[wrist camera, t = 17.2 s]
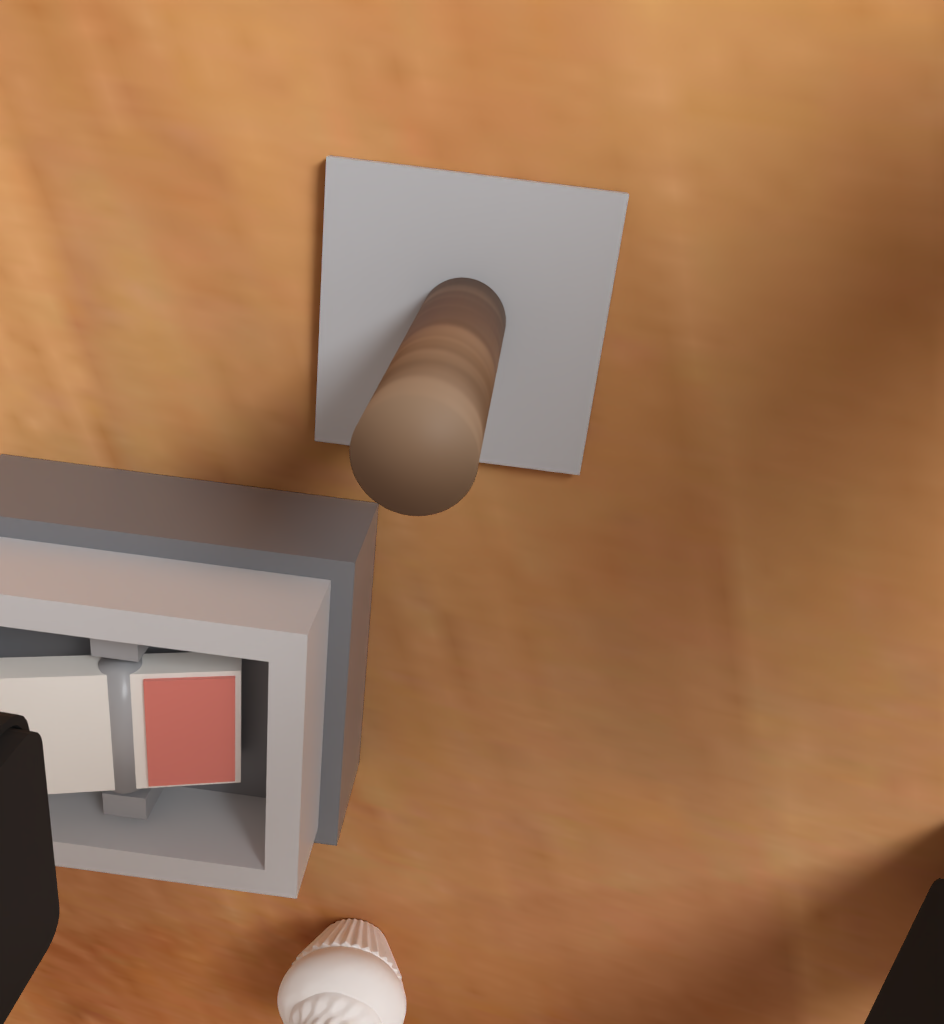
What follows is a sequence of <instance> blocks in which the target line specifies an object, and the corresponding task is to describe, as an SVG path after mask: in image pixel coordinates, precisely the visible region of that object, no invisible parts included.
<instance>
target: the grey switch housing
mask: <svg viewBox="0 0 944 1024" xmlns="http://www.w3.org/2000/svg"><path fill="white" fill-rule="evenodd" d="M378 506H379V504H378V503H373V502H365V501H358V500H350V499H342V498H335V497H327V496H319V495H311V494H304V493H296V492H288V491H281V490H273V489H265V488H258V487H250V486H242V485H235V484H227V483H219V482H212V481H204V480H196V479H189V478H181V477H173V476H166V475H158V474H150V473H143V472H135V471H127V470H120V469H112V468H104V467H97V466H89V465H81V464H74V463H66V462H58V461H51V460H43V459H35V458H28V457H20V456H12V455H5V454H2V455H0V658H7V657H43V656H79V655H91V656H97V657H105V658H112V659H120V660H127V661H135V662H139V660H140V659H141V657H142V656H143V655H144V654H151V653H187V652H198V653H206V654H213V655H221V656H228V657H236V658H242V668H241V782H239V783H222V784H206V785H190V786H174V787H157V788H141V789H139V790H137V791H135V792H132V793H126V794H121V793H116V792H113V791H112V790H109V791H93V792H76V793H60V794H48V801H49V811H50V821H51V831H52V841H53V850H54V860H55V866H60V867H67V868H75V869H82V870H90V871H97V872H104V873H112V874H119V875H126V876H134V877H141V878H148V879H156V880H163V881H170V882H178V883H185V884H192V885H200V886H207V887H214V888H222V889H229V890H236V891H244V892H251V893H258V894H266V895H273V896H280V897H288V898H295V899H297V896H298V893H299V890H300V886H301V883H302V880H303V876H304V873H305V870H306V866H307V863H308V860H309V856H310V853H311V850H312V846H313V843H321V844H328V845H336V846H337V843H338V840H339V836H340V832H341V828H342V825H343V821H344V817H345V813H346V810H347V806H348V802H349V799H350V795H351V791H352V787H353V784H354V780H355V776H356V772H357V769H358V765H359V758H360V745H361V731H362V718H363V705H364V692H365V678H366V665H367V652H368V638H369V625H370V612H371V599H372V585H373V572H374V559H375V546H376V532H377V519H378Z"/></svg>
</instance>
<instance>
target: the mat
mask: <svg viewBox="0 0 944 1024" xmlns="http://www.w3.org/2000/svg"><path fill="white" fill-rule="evenodd" d="M628 198H629V194H628V193H626V192H618V191H610V190H602V189H594V188H586V187H578V186H570V185H562V184H554V183H546V182H538V181H530V180H522V179H514V178H506V177H498V176H490V175H482V174H474V173H466V172H458V171H450V170H442V169H435V168H427V167H419V166H411V165H403V164H395V163H387V162H379V161H371V160H363V159H355V158H347V157H339V156H331V155H330V156H326V175H325V199H324V224H323V248H322V273H321V297H320V321H319V346H318V370H317V395H316V419H315V441H319V442H327V443H335V444H342V445H350V442H351V438H352V434H353V432H354V430H355V427H356V425H357V424H358V422H359V420H360V418H361V416H362V414H363V413H364V411H365V409H366V407H367V405H368V403H369V402H370V400H371V398H372V396H373V394H374V392H375V391H376V389H377V387H378V385H379V383H380V381H381V380H382V378H383V376H384V374H385V372H386V370H387V369H388V367H389V365H390V363H391V361H392V359H393V358H394V356H395V354H396V352H397V350H398V348H399V347H400V345H401V343H402V341H403V339H404V337H405V336H406V334H407V332H408V330H409V328H410V326H411V325H412V323H413V321H414V319H415V317H416V315H417V314H418V312H419V310H420V308H421V306H422V304H423V303H424V301H425V299H426V297H427V296H428V294H429V293H430V292H431V291H432V290H433V289H434V288H435V287H436V286H437V285H439V284H440V283H442V282H444V281H446V280H449V279H453V278H460V277H463V278H471V279H475V280H478V281H480V282H482V283H484V284H486V285H487V286H489V287H490V288H491V289H492V290H493V291H494V292H495V293H496V294H497V296H498V297H499V298H500V300H501V302H502V304H503V307H504V310H505V315H506V327H505V333H504V338H503V343H502V348H501V353H500V358H499V363H498V368H497V373H496V378H495V383H494V388H493V393H492V398H491V403H490V408H489V414H488V419H487V424H486V429H485V434H484V439H483V444H482V449H481V454H480V459H479V462H481V463H489V464H497V465H505V466H512V467H520V468H528V469H535V470H543V471H551V472H559V473H566V474H574V475H580V470H581V464H582V459H583V453H584V447H585V442H586V436H587V430H588V425H589V419H590V413H591V408H592V402H593V396H594V391H595V385H596V379H597V374H598V368H599V362H600V357H601V351H602V345H603V340H604V334H605V328H606V323H607V317H608V312H609V306H610V300H611V295H612V289H613V283H614V278H615V272H616V266H617V261H618V255H619V249H620V244H621V238H622V232H623V227H624V221H625V215H626V210H627V204H628Z"/></svg>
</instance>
